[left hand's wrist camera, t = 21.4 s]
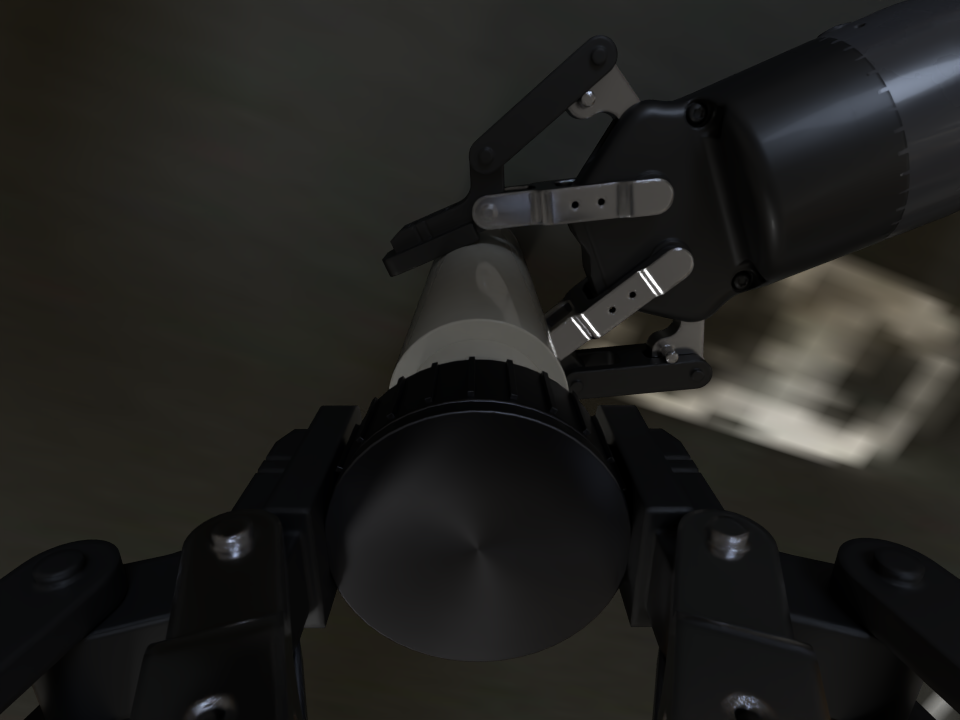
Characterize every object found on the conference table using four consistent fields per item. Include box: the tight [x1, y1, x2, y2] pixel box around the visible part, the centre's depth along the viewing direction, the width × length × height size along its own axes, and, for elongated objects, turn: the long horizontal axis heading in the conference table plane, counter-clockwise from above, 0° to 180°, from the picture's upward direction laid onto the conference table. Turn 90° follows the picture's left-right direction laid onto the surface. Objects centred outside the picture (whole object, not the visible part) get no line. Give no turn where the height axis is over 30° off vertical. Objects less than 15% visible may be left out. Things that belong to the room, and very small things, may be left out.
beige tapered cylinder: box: [389, 228, 569, 391], centre depth 20 cm, size 4×4×18 cm
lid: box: [324, 356, 632, 662], centre depth 10 cm, size 5×5×2 cm
